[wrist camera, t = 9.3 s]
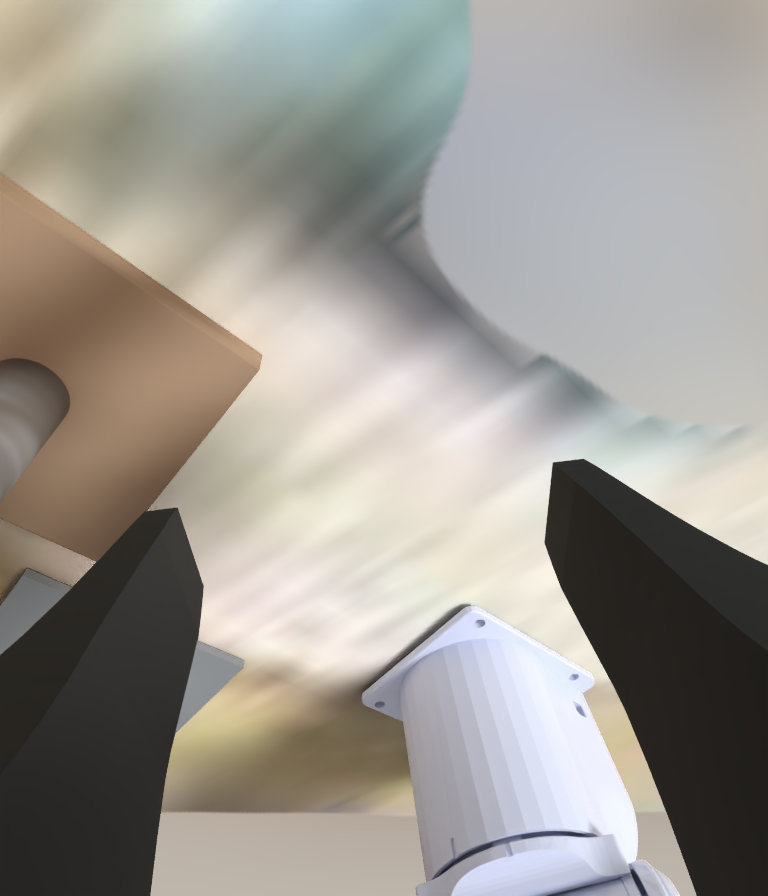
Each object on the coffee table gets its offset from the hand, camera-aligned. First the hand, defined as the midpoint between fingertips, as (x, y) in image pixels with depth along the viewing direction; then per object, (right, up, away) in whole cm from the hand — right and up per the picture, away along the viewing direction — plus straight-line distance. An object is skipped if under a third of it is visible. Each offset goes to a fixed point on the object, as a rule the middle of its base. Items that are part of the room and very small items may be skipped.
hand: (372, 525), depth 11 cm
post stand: (-11, +4, +7) cm, 14 cm away
